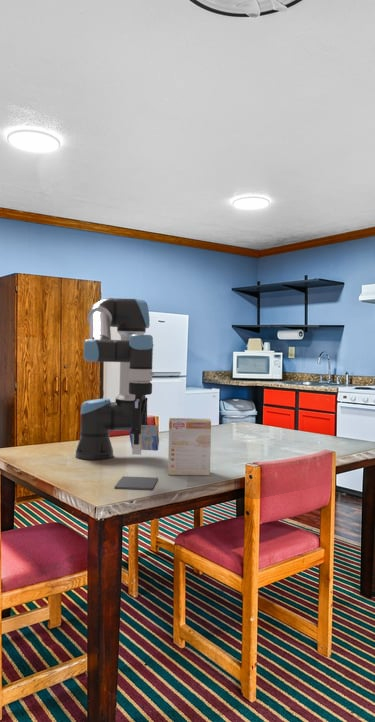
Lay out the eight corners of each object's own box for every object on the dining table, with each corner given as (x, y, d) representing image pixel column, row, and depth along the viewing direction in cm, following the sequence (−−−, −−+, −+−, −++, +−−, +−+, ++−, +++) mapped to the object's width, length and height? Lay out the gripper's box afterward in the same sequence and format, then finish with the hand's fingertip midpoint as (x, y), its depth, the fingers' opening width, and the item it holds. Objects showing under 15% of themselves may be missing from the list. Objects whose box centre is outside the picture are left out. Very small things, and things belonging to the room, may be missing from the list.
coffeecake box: (208, 471, 193) (210, 418, 193) (210, 476, 186) (211, 420, 186) (167, 470, 193) (169, 417, 193) (167, 475, 186) (169, 420, 185)
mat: (122, 478, 180) (122, 476, 180) (157, 479, 179) (157, 477, 179) (114, 488, 166) (114, 486, 166) (152, 490, 165) (152, 488, 165)
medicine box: (158, 451, 172) (131, 450, 173) (159, 440, 176) (133, 439, 176) (156, 436, 167) (129, 435, 168) (157, 425, 170) (131, 424, 171)
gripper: (146, 384, 160) (145, 458, 161) (156, 380, 181) (155, 445, 182) (122, 384, 161) (120, 457, 162) (135, 379, 182) (134, 444, 183)
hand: (139, 451), depth 172 cm, fingers closed on medicine box, 8 cm apart
